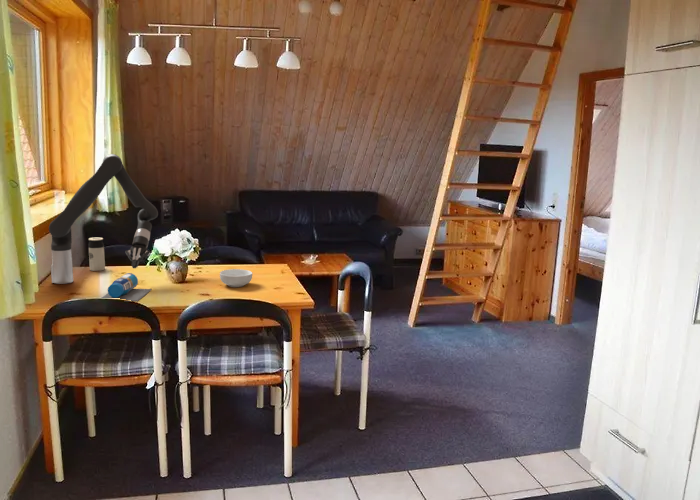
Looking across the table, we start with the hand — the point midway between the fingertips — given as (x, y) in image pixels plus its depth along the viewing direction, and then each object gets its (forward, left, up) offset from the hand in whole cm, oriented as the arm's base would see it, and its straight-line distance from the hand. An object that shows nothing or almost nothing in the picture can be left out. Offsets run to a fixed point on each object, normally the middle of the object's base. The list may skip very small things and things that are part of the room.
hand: (134, 267), depth 293 cm
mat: (0, -12, -11) cm, 17 cm away
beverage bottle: (-2, -1, -7) cm, 7 cm away
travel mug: (-34, +38, -11) cm, 53 cm away
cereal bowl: (+49, +12, -11) cm, 52 cm away
